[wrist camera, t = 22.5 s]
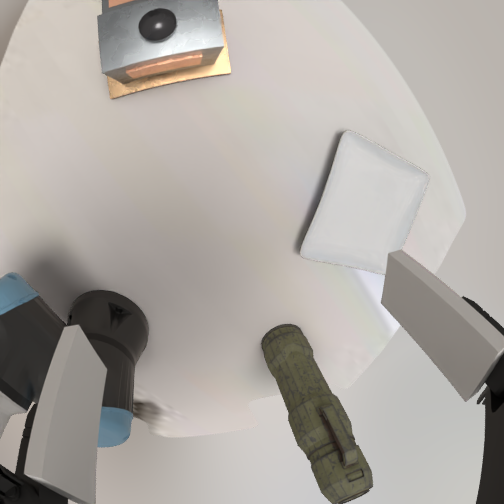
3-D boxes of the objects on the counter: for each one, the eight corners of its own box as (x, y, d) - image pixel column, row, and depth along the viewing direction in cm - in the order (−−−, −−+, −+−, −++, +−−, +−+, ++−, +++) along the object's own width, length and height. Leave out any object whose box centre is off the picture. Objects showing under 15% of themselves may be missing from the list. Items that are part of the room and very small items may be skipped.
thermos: (302, 312, 53) (394, 474, 23) (302, 352, 59) (372, 492, 28) (257, 324, 52) (328, 503, 21) (263, 363, 58) (319, 514, 27)
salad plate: (334, 125, 39) (346, 127, 36) (421, 171, 46) (433, 175, 43) (290, 249, 47) (297, 258, 44) (380, 268, 54) (390, 276, 51)
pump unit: (112, 99, 30) (82, 92, 20) (104, 36, 25) (76, 8, 15) (229, 74, 32) (248, 55, 22) (220, 12, 28) (235, -26, 17)
